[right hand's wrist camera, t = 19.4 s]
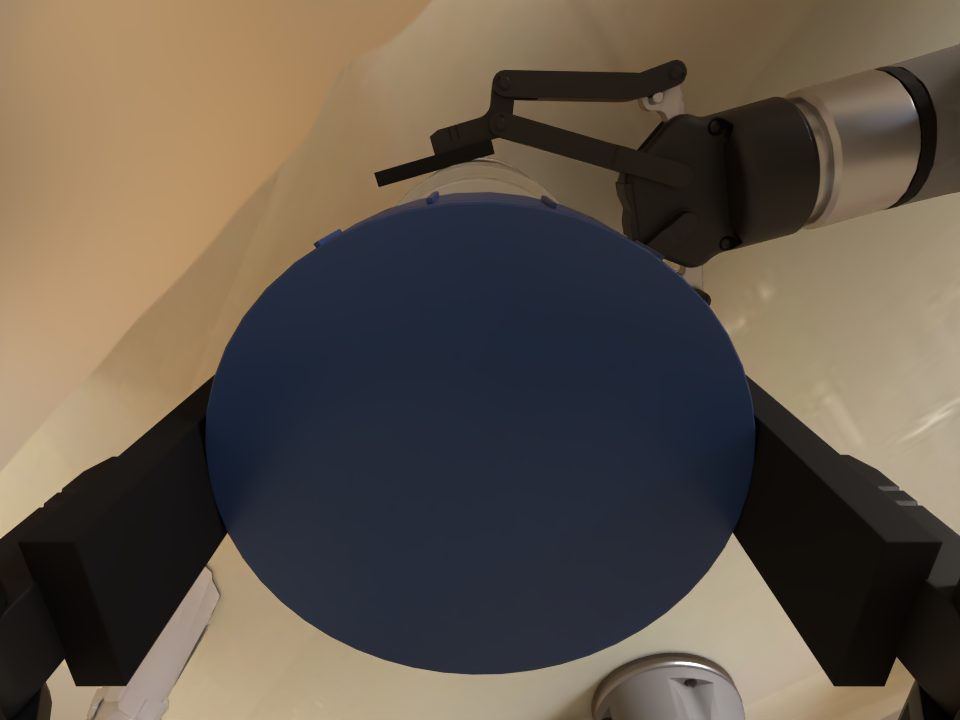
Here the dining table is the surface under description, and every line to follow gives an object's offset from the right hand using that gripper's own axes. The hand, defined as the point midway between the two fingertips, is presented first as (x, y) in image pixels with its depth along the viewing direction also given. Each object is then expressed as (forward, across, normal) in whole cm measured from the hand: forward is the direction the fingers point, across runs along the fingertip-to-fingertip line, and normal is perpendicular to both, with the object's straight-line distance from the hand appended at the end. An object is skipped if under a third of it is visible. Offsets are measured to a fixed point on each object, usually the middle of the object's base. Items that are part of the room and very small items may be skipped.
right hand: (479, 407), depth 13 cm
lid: (-3, 0, 0) cm, 3 cm away
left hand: (+20, -4, 0) cm, 20 cm away
